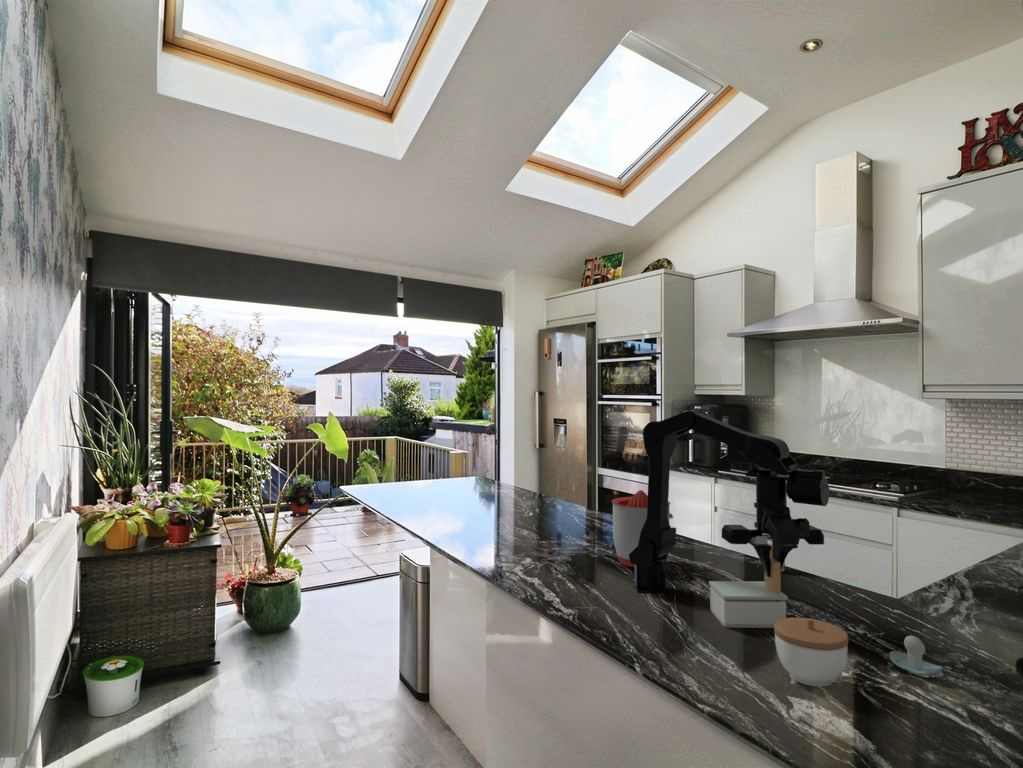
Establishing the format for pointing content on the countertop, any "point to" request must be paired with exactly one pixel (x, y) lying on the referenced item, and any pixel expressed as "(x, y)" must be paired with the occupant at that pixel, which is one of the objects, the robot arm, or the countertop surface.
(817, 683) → the lidded jar
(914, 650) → the pacifier
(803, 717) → the countertop surface
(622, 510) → the citrus juicer
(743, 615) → the tub
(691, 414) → the robot arm
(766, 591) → the lid
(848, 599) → the countertop surface
